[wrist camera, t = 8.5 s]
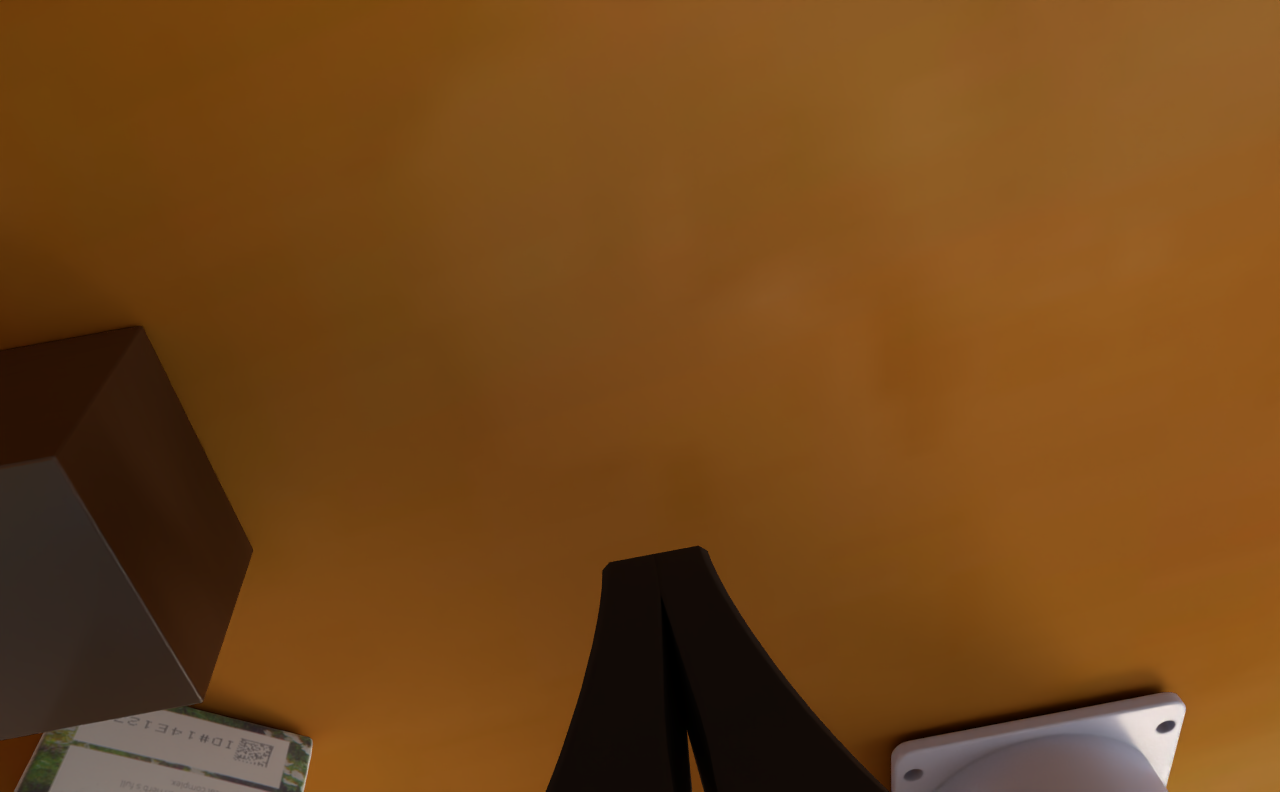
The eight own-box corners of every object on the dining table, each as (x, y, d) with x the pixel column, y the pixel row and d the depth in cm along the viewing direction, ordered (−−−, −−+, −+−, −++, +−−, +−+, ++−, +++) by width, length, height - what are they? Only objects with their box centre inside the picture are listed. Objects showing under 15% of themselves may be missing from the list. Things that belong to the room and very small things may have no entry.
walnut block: (254, 550, 20) (203, 703, 17) (-6, 598, 20) (-108, 761, 17) (142, 323, 17) (53, 457, 14) (-164, 379, 17) (-327, 526, 14)
